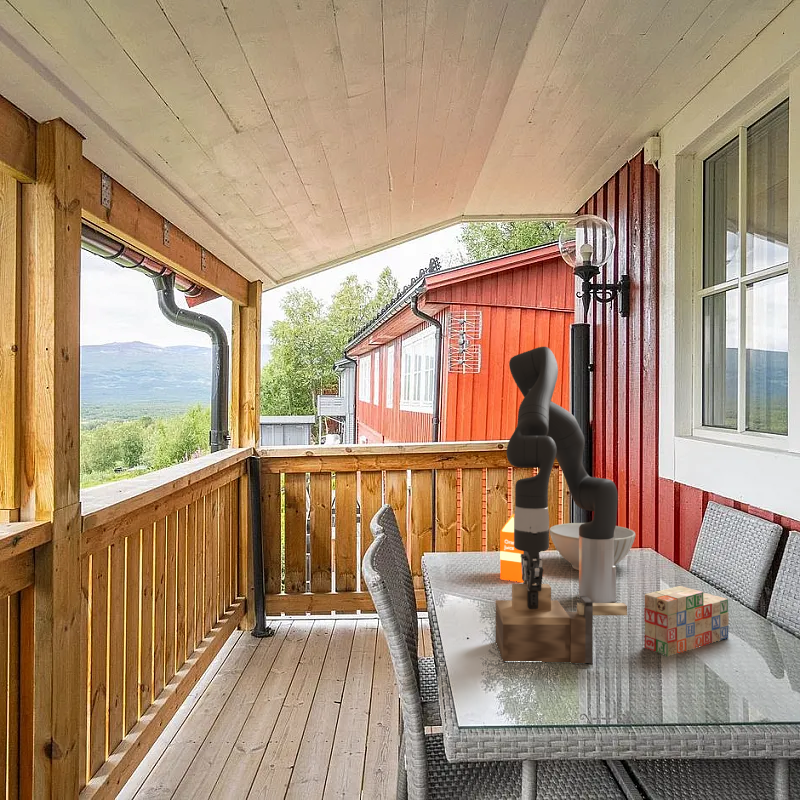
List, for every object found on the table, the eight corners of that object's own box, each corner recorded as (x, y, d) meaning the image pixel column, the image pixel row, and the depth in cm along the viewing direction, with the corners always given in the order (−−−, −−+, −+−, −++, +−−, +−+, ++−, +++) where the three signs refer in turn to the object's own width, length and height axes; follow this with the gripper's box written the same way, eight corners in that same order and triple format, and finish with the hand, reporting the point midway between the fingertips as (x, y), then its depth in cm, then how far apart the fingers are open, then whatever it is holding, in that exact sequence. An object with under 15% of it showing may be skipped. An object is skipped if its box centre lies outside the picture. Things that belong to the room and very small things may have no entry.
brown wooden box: (577, 642, 157) (577, 585, 157) (592, 664, 144) (592, 602, 144) (495, 642, 157) (495, 585, 157) (503, 664, 144) (503, 602, 144)
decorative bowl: (647, 579, 210) (647, 539, 210) (559, 578, 210) (559, 539, 210) (620, 558, 237) (620, 522, 237) (542, 557, 237) (542, 522, 237)
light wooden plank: (624, 612, 147) (624, 602, 147) (627, 615, 145) (627, 605, 145) (577, 612, 147) (577, 602, 147) (579, 615, 145) (579, 605, 145)
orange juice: (534, 576, 213) (534, 511, 213) (523, 582, 206) (523, 515, 206) (511, 572, 218) (511, 509, 217) (499, 579, 210) (499, 513, 210)
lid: (557, 611, 157) (557, 578, 157) (570, 629, 145) (570, 593, 145) (495, 611, 157) (495, 578, 157) (503, 629, 145) (503, 593, 145)
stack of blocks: (704, 631, 164) (705, 579, 164) (729, 639, 159) (729, 585, 159) (643, 648, 154) (643, 593, 153) (667, 657, 148) (667, 600, 148)
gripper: (509, 521, 158) (509, 596, 158) (519, 533, 144) (519, 616, 144) (542, 521, 158) (542, 596, 158) (555, 533, 144) (555, 616, 144)
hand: (531, 605), depth 151 cm, fingers closed on lid, 3 cm apart
